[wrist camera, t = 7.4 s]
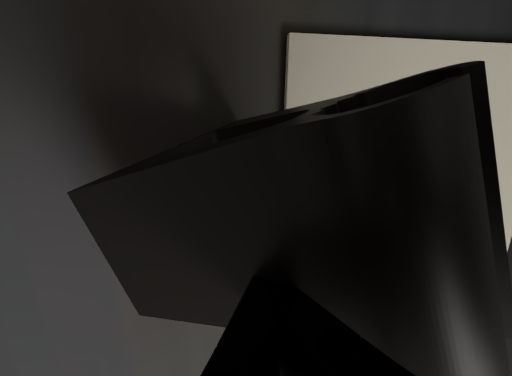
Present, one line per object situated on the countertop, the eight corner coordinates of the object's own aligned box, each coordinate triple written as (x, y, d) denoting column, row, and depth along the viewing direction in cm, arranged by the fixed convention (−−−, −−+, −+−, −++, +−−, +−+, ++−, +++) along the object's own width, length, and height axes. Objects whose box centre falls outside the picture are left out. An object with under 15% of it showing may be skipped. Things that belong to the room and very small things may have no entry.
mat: (275, 319, 20) (276, 326, 19) (287, 35, 15) (289, 32, 15) (483, 307, 22) (490, 313, 21) (551, 48, 17) (563, 46, 16)
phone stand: (236, 121, 16) (523, 29, 7) (270, 213, 18) (540, 240, 8) (65, 191, 11) (290, 202, 2) (135, 312, 13) (446, 653, 3)
